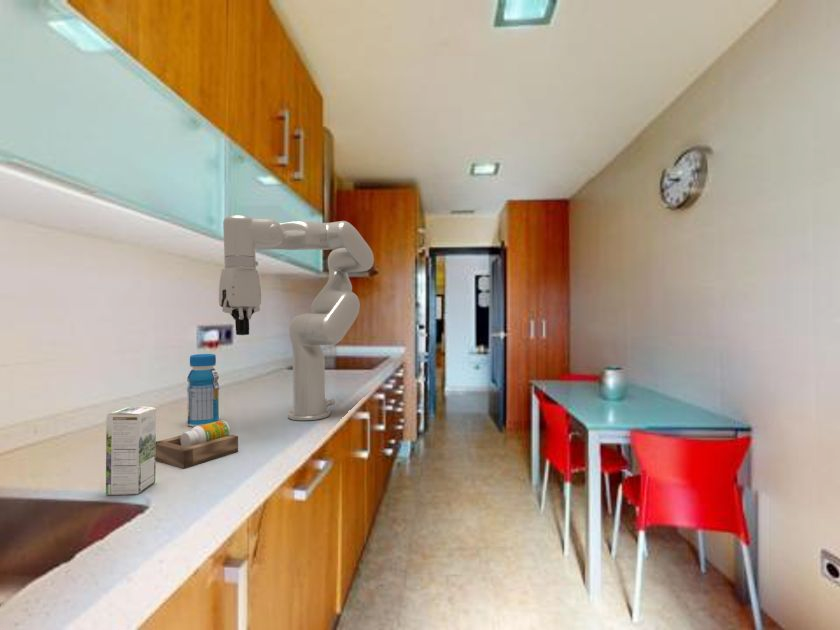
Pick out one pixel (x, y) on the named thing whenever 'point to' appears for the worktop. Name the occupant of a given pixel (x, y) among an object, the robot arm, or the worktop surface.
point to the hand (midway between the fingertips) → (242, 334)
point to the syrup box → (130, 450)
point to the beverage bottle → (203, 390)
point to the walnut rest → (194, 451)
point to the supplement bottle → (205, 433)
